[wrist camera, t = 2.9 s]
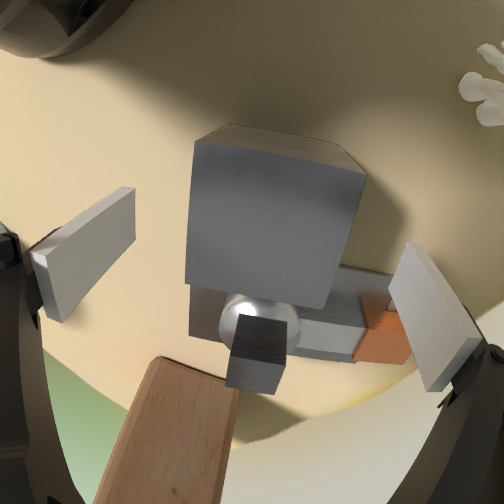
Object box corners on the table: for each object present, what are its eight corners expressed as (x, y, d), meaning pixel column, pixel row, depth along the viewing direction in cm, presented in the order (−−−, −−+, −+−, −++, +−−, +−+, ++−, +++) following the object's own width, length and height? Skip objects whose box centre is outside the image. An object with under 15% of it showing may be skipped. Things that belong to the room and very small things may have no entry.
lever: (194, 237, 22) (158, 298, 16) (428, 282, 22) (462, 345, 15) (189, 332, 27) (166, 396, 21) (381, 362, 27) (395, 425, 20)
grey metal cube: (228, 123, 18) (194, 141, 11) (338, 144, 18) (367, 174, 11) (216, 222, 21) (184, 283, 15) (313, 241, 21) (322, 309, 15)
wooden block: (244, 383, 30) (211, 563, 13) (217, 419, 35) (187, 557, 18) (154, 350, 29) (83, 524, 12) (144, 393, 34) (94, 527, 17)
